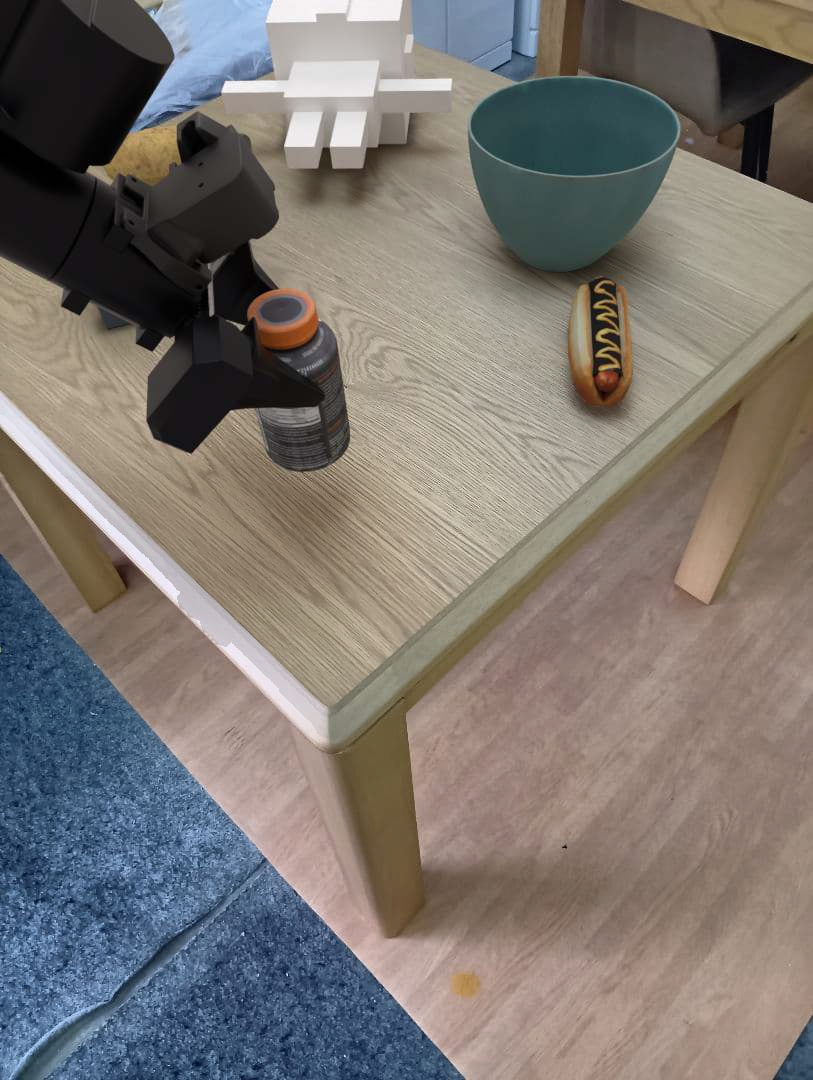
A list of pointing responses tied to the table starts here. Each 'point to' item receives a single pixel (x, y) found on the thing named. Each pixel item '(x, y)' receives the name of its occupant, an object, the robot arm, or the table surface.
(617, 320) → the hot dog
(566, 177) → the teal bowl
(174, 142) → the potato
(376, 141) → the white voxel figure
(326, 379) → the pill bottle
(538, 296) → the table surface
